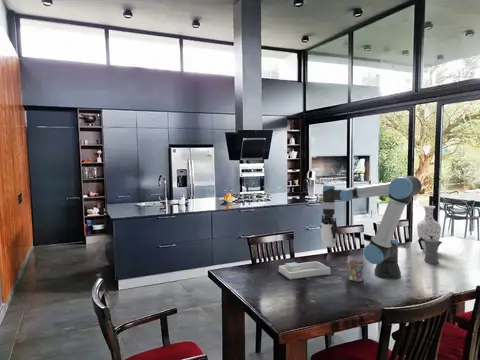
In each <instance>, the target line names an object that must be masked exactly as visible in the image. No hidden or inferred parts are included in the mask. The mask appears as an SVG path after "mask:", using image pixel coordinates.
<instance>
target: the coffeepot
mask: <svg viewBox="0 0 480 360" xmlns="http://www.w3.org/2000/svg"><path fill="white" fill-rule="evenodd" d="M430 237H431V239H424V238H420V239H419V238H418V239H417V243H418V245H419V249H420V250H421V251H422V250H424V249H423V248H422V245H421V241H425V247H426V252H424V253H425V255H424V258H423V259H424V262H425V263H427V264H439V255H438V249H439V247H440V246H441V244H442V243H443V241H441V240H440V239H439V240H436V239H433V236H430Z"/></svg>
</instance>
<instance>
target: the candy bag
mask: <svg viewBox="0 0 480 360" xmlns="http://www.w3.org/2000/svg"><path fill="white" fill-rule="evenodd" d="M364 266H365V262H364V261H361V260H356V259H355V260H348V262H347V263H346V267H347V270H348V271H349V272H350V274H349V276H348V279H349V280H350V281H352V282H363V281H364V280H365V279H364V276H363V270H364Z"/></svg>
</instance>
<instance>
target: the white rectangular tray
mask: <svg viewBox="0 0 480 360" xmlns="http://www.w3.org/2000/svg"><path fill="white" fill-rule="evenodd" d="M297 263H298V262H297ZM298 264H299V265H301V267H300V271H298V272H289V271H288V270H286V269H285V264H283V265H278V272H279V273H280V274H281V275H283V276H284V277H286V278H287V279H288V280H296V279H302V278H310V277H317V276H318V277H319V276H323V275H324V276H325V275H328V276H331V267H329V266H327V265H325V264H323V263H321V262H319V261H308V262H301V263H298Z"/></svg>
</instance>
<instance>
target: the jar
mask: <svg viewBox="0 0 480 360" xmlns="http://www.w3.org/2000/svg"><path fill="white" fill-rule="evenodd" d="M321 225H322V227H321ZM320 227H321V228H320V236H321V242H322V246H323V247H325V248H335V247H336V243H333V244H332V243H331V233H332V231H331V227H333V226H332V225H330V224H329V223H328V225H326V224H324V223H321V222H320ZM333 232H334V231H333ZM337 237H338V233H336V238H337Z"/></svg>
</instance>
